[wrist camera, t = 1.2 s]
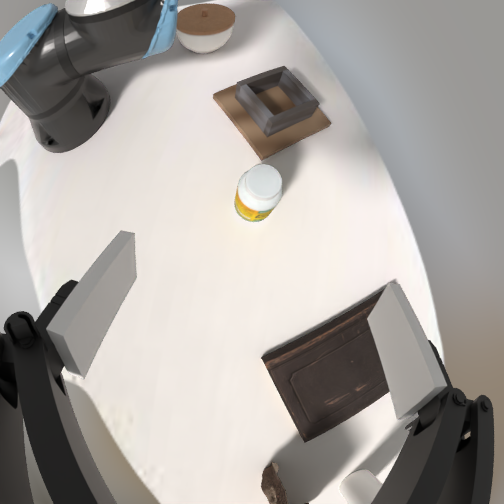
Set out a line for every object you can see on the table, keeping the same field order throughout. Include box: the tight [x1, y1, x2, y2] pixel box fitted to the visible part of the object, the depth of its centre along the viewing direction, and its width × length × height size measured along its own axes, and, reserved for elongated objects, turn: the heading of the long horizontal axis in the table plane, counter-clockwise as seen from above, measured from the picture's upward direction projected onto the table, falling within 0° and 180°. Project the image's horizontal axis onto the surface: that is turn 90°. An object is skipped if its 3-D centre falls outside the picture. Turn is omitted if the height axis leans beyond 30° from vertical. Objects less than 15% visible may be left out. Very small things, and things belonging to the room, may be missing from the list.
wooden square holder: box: [213, 66, 331, 160], centre depth 38 cm, size 14×14×5 cm
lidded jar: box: [176, 4, 235, 54], centre depth 37 cm, size 11×11×9 cm
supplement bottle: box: [234, 164, 282, 222], centre depth 34 cm, size 5×5×10 cm
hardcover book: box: [261, 289, 390, 442], centre depth 37 cm, size 16×23×2 cm
